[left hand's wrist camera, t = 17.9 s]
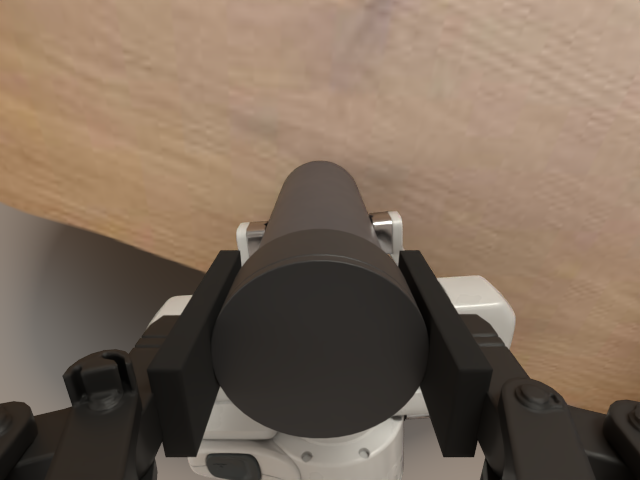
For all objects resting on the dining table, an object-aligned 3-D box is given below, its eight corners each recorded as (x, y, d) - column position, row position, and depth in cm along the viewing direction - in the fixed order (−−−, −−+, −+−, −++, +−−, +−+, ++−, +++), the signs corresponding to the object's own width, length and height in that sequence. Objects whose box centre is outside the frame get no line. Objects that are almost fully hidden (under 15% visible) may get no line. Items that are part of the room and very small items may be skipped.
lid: (205, 246, 12) (179, 283, 10) (399, 211, 11) (419, 240, 9) (255, 394, 14) (243, 451, 12) (418, 369, 14) (438, 423, 11)
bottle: (350, 152, 24) (396, 242, 10) (365, 228, 26) (422, 396, 12) (270, 171, 25) (201, 283, 10) (291, 244, 27) (258, 425, 12)
